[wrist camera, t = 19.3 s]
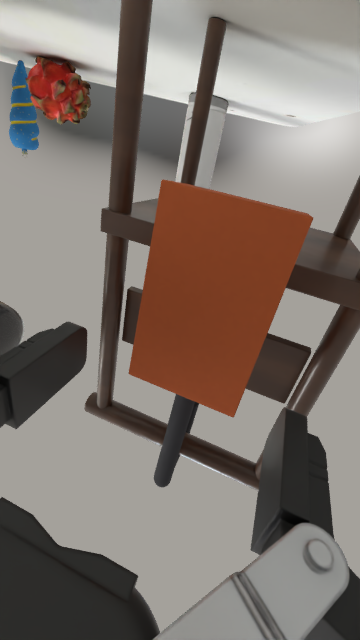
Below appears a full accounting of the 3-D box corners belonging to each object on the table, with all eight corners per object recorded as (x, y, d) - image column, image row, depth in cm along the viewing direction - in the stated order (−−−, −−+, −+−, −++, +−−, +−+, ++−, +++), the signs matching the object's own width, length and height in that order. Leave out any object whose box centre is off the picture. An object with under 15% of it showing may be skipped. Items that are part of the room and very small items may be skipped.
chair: (450, 54, 17) (281, 392, 30) (201, 23, 20) (149, 341, 33) (684, -129, 7) (272, 503, 20) (100, -131, 10) (83, 415, 23)
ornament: (38, 67, 53) (42, 159, 61) (6, 59, 52) (14, 154, 59) (33, 62, 49) (38, 161, 57) (-2, 52, 48) (8, 156, 55)
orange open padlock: (304, 210, 16) (214, 445, 25) (211, 187, 18) (155, 419, 26) (313, 217, 10) (185, 538, 18) (161, 179, 11) (107, 497, 19)
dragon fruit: (94, 51, 40) (38, 31, 44) (48, 81, 38) (-7, 58, 42) (111, 116, 48) (62, 94, 52) (74, 144, 46) (26, 120, 49)
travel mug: (187, 89, 43) (165, 225, 53) (230, 99, 44) (200, 232, 54) (188, 96, 49) (168, 218, 59) (226, 105, 49) (200, 225, 59)
